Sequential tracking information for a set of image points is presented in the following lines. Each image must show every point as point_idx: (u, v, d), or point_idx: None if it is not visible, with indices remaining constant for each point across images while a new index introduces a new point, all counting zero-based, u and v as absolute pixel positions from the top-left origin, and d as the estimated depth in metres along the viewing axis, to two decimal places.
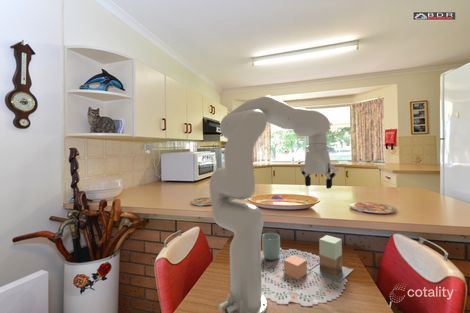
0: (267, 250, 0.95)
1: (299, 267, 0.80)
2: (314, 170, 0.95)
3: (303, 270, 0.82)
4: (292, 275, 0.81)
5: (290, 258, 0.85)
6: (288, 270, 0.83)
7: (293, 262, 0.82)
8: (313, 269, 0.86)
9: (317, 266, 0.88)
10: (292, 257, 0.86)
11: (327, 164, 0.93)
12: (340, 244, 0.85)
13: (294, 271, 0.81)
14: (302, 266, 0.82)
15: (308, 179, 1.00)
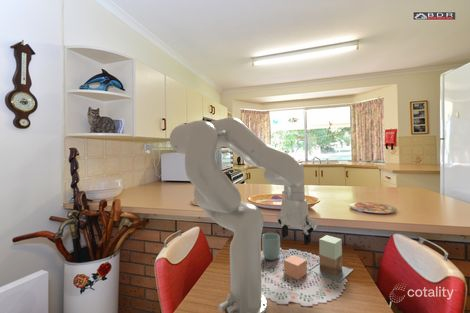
0: (267, 250, 0.95)
1: (299, 267, 0.80)
2: (290, 222, 0.82)
3: (303, 270, 0.82)
4: (292, 275, 0.81)
5: (290, 258, 0.85)
6: (288, 270, 0.83)
7: (293, 262, 0.82)
8: (313, 269, 0.86)
9: (317, 266, 0.88)
10: (292, 257, 0.86)
11: (304, 217, 0.79)
12: (340, 244, 0.85)
13: (294, 271, 0.81)
14: (302, 266, 0.82)
15: (285, 229, 0.87)
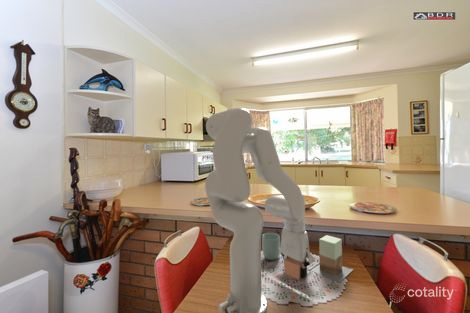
0: (267, 250, 0.95)
1: (299, 267, 0.80)
2: (290, 254, 0.82)
3: None
4: (292, 275, 0.82)
5: (290, 258, 0.85)
6: (288, 270, 0.83)
7: (293, 261, 0.82)
8: (313, 269, 0.86)
9: (317, 266, 0.88)
10: None
11: (305, 250, 0.79)
12: (340, 244, 0.85)
13: (294, 271, 0.81)
14: None
15: None
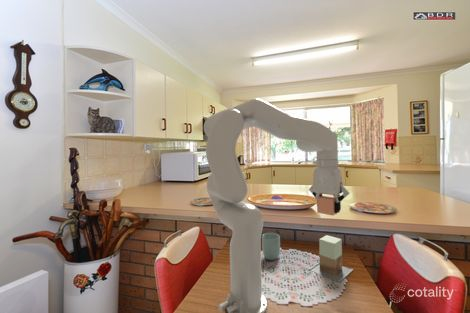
0: (267, 250, 0.95)
1: (333, 201, 0.82)
2: (324, 190, 0.83)
3: None
4: (326, 210, 0.83)
5: (322, 196, 0.86)
6: (321, 206, 0.84)
7: (326, 197, 0.84)
8: (313, 269, 0.86)
9: (317, 266, 0.88)
10: (324, 195, 0.88)
11: (339, 183, 0.81)
12: (340, 244, 0.85)
13: (328, 205, 0.82)
14: None
15: None
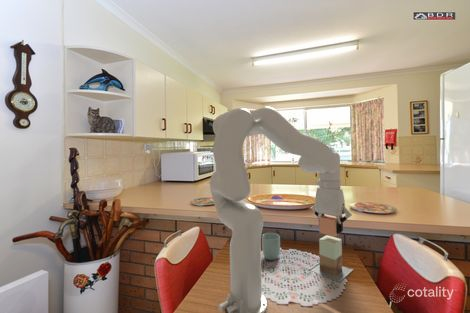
0: (267, 250, 0.95)
1: (335, 222, 0.82)
2: (326, 210, 0.84)
3: None
4: (328, 230, 0.83)
5: (325, 216, 0.87)
6: (324, 227, 0.85)
7: (329, 218, 0.84)
8: (313, 269, 0.86)
9: (317, 266, 0.88)
10: (326, 215, 0.88)
11: (341, 205, 0.81)
12: (340, 244, 0.85)
13: (330, 226, 0.83)
14: None
15: None
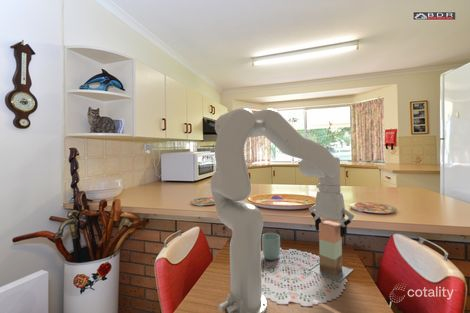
0: (267, 250, 0.95)
1: (335, 229, 0.82)
2: (326, 215, 0.84)
3: (339, 233, 0.84)
4: (328, 237, 0.83)
5: (324, 223, 0.87)
6: (323, 233, 0.85)
7: (328, 225, 0.84)
8: (313, 269, 0.86)
9: (317, 266, 0.88)
10: (326, 222, 0.88)
11: (341, 209, 0.81)
12: (340, 244, 0.85)
13: (330, 233, 0.82)
14: (337, 229, 0.83)
15: (319, 222, 0.89)
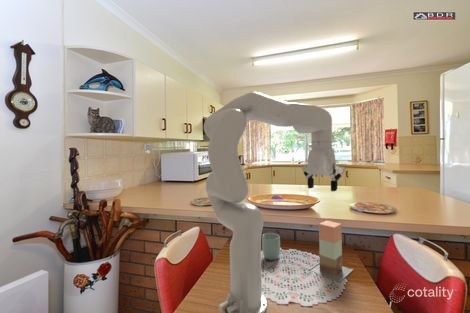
0: (267, 250, 0.95)
1: (335, 229, 0.82)
2: (317, 171, 0.86)
3: (339, 233, 0.84)
4: (328, 237, 0.83)
5: (324, 223, 0.87)
6: (323, 233, 0.85)
7: (328, 225, 0.84)
8: (313, 269, 0.86)
9: (317, 266, 0.88)
10: (326, 222, 0.88)
11: (332, 164, 0.83)
12: (340, 244, 0.85)
13: (330, 233, 0.82)
14: (337, 229, 0.83)
15: (311, 181, 0.91)
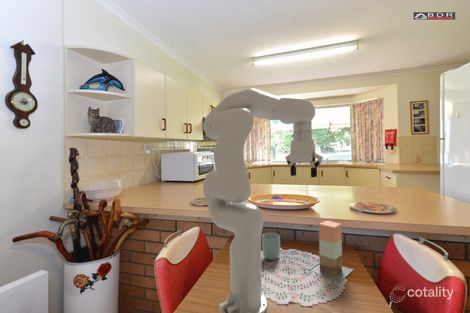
0: (267, 250, 0.95)
1: (335, 229, 0.82)
2: (299, 159, 0.93)
3: (339, 233, 0.84)
4: (328, 237, 0.83)
5: (324, 223, 0.87)
6: (323, 233, 0.85)
7: (328, 225, 0.84)
8: (313, 269, 0.86)
9: (317, 266, 0.88)
10: (326, 222, 0.88)
11: (311, 152, 0.90)
12: (340, 244, 0.85)
13: (330, 233, 0.82)
14: (337, 229, 0.83)
15: (293, 169, 0.98)
